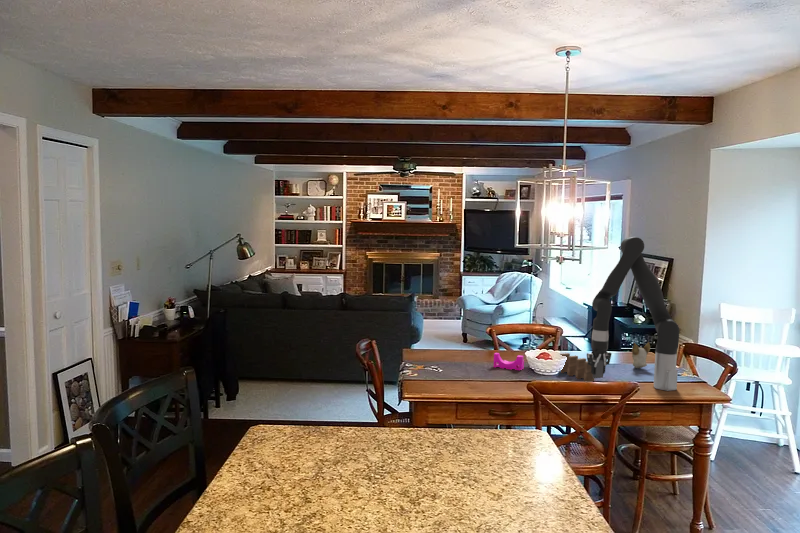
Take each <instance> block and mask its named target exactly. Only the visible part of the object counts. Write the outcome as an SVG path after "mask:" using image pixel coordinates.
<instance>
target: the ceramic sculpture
mask: <svg viewBox="0 0 800 533" xmlns="http://www.w3.org/2000/svg"><path fill="white" fill-rule="evenodd" d="M650 351H651V344H650V341H648V342H647V343H646V344H645V345H644V346H643V347H642V346H641V347H640V346H639V345H637V344H636V343H635V342H633V346H632V349H631V353H632V354H631V355H632V356H631V357H632V360H633V361H632V366H633V367H634V368H635V369H643V368H645V367H647V366H648V363H647V361H646V360H647V357H648V356H647V355H648V354H649V352H650Z"/></svg>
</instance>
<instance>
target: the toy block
mask: <svg viewBox="0 0 800 533" xmlns="http://www.w3.org/2000/svg"><path fill="white" fill-rule="evenodd" d="M496 367H500V368H499V369H504V368H506V370H512V369H515V370H514V371H520V370H522V369H523V370H524V368H525V360H524V355H521V354H520V355H519V354H518V355H517V356H516V359H515V360H512V361H510V360H509V361H508V360H506V359H504V360H503V358H502V357H501V355H500V352H495V353H493V368H496ZM523 370H522V371H523Z"/></svg>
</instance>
